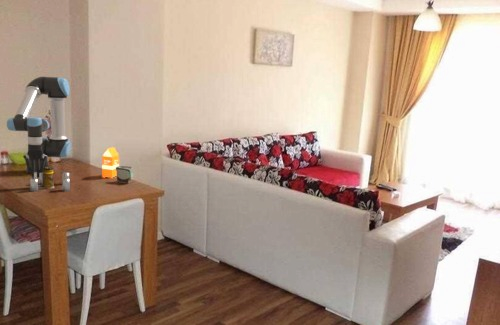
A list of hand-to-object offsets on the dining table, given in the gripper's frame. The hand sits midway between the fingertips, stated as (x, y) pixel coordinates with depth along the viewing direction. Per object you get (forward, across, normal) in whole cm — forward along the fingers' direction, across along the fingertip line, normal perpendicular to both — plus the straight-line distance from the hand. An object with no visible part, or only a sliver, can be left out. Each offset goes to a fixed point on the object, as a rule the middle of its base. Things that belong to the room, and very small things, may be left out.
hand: (36, 182), depth 253 cm
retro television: (+3, +51, +13) cm, 53 cm away
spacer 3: (+3, +15, +8) cm, 18 cm away
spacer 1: (+3, 0, -8) cm, 8 cm away
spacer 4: (+3, +18, -8) cm, 19 cm away
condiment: (+3, +6, 0) cm, 6 cm away
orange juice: (+2, +41, +29) cm, 50 cm away
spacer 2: (+3, +2, +8) cm, 9 cm away
